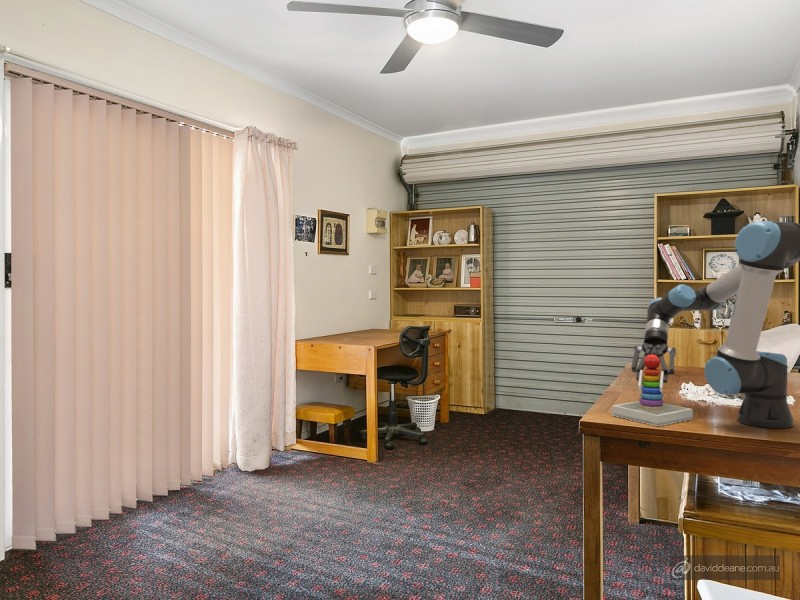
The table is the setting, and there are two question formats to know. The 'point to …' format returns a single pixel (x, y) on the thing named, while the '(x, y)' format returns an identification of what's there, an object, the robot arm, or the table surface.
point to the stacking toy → (651, 386)
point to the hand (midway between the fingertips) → (650, 388)
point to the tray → (652, 414)
